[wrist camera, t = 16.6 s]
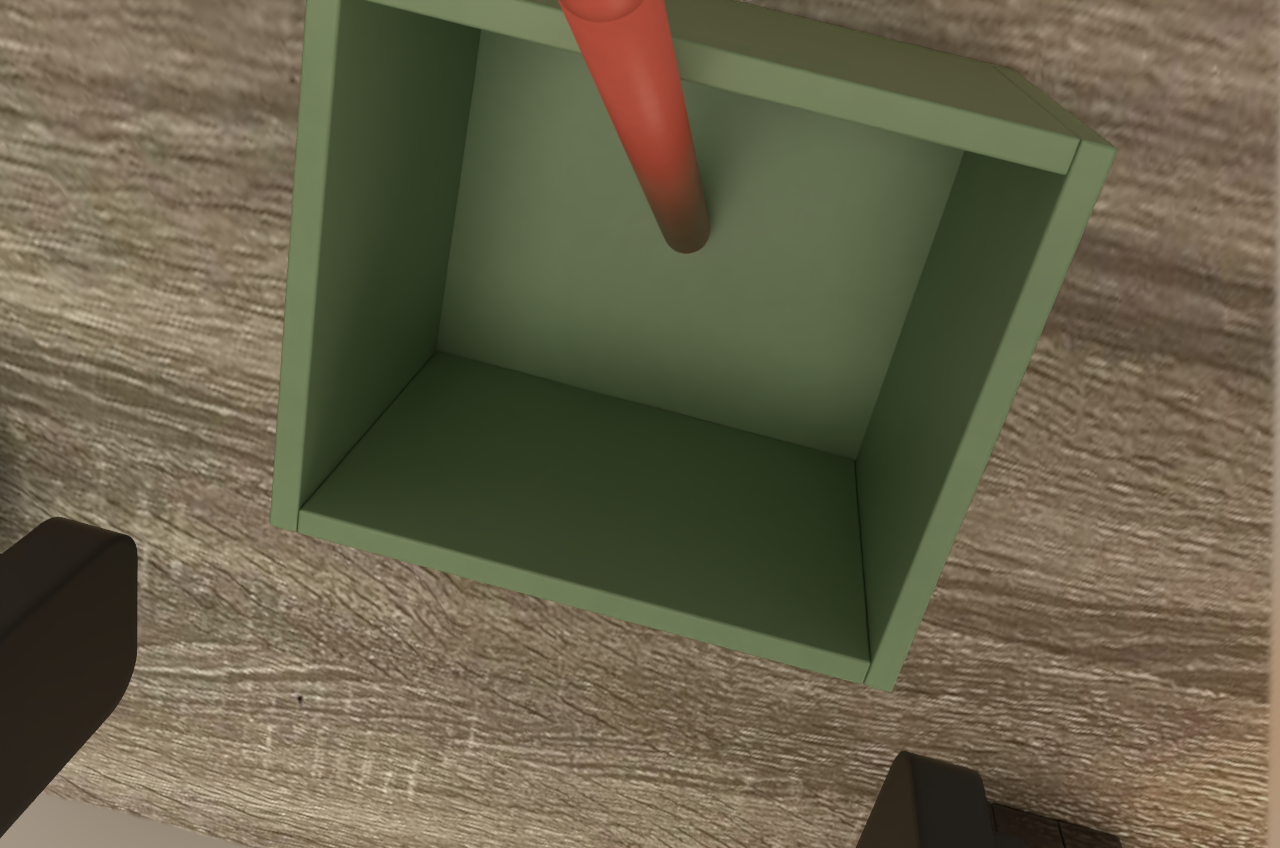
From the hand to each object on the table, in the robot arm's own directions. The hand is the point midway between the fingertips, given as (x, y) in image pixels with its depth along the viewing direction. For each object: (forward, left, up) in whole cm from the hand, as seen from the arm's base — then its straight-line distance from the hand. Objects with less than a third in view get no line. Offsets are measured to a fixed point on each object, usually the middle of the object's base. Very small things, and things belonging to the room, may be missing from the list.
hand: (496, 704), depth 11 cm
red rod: (0, 0, -18) cm, 18 cm away
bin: (0, 0, -19) cm, 19 cm away
